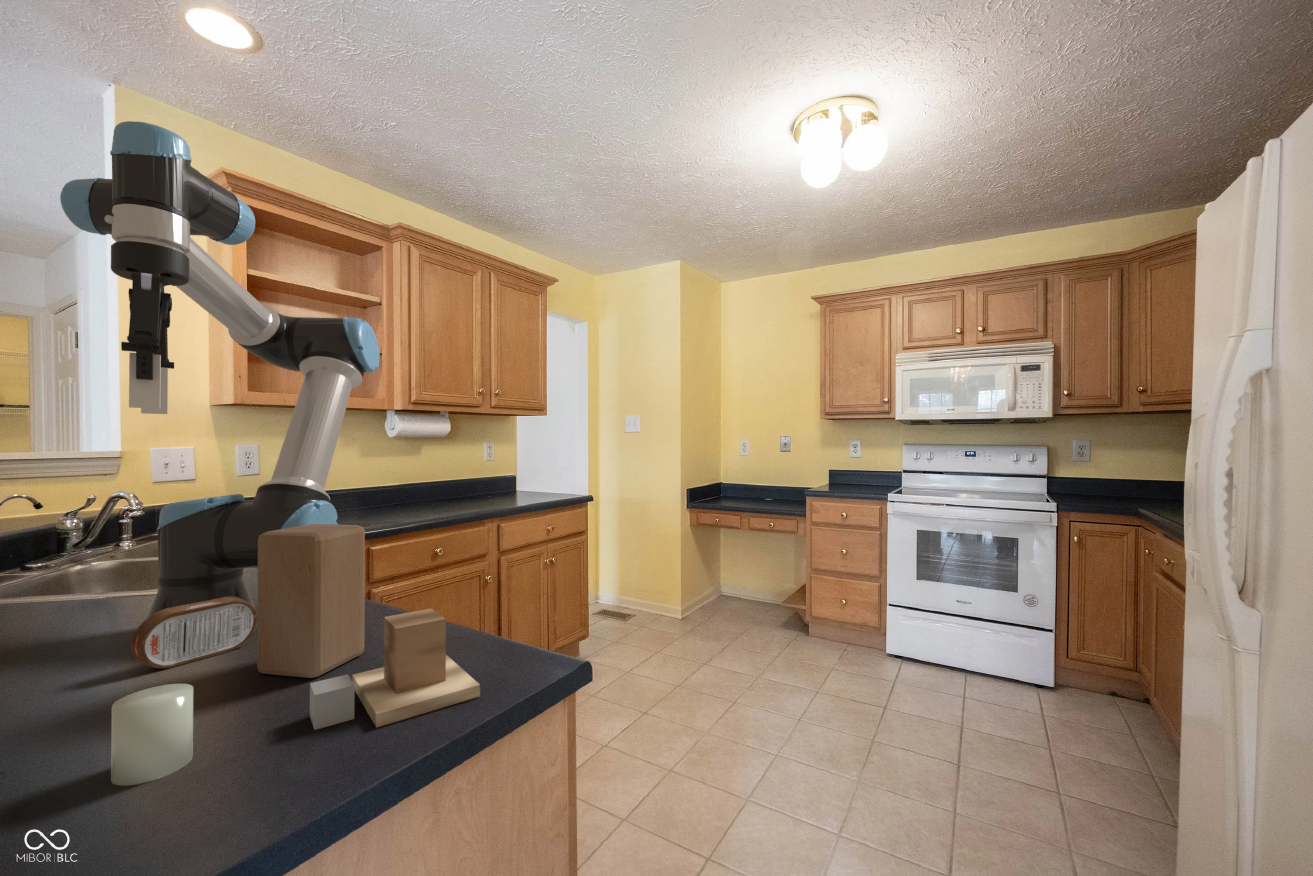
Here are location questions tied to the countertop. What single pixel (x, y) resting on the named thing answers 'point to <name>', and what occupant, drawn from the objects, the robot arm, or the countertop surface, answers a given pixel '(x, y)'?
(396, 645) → the walnut block
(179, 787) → the countertop surface
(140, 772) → the pale green rounded cylinder
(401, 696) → the board
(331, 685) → the slate cube
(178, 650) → the tin
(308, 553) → the block
